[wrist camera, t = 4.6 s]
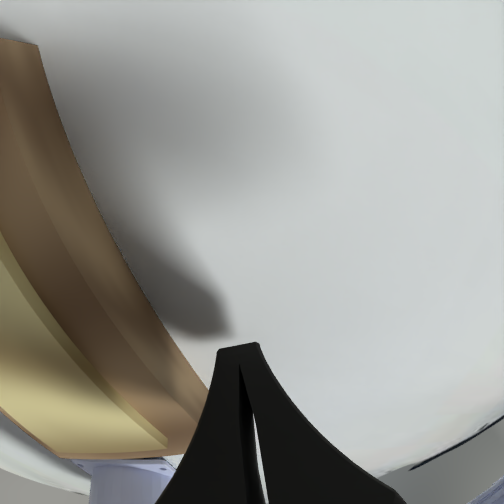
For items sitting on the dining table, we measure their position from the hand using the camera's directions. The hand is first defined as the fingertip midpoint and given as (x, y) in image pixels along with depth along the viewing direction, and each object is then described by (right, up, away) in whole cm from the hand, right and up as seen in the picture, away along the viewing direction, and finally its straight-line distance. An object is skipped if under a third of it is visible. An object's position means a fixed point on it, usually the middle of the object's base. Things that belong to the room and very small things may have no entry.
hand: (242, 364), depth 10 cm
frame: (-8, +2, 0) cm, 9 cm away
